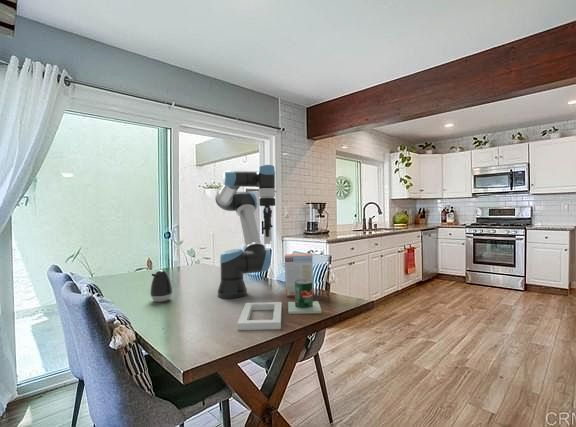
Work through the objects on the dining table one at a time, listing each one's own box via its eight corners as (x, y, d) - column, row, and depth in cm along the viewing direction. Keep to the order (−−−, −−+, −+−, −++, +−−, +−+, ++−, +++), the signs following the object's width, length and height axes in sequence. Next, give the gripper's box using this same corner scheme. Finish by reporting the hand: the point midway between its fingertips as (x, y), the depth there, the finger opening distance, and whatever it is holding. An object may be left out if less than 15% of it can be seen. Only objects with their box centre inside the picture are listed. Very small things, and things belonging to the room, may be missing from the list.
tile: (288, 313, 136) (288, 311, 136) (288, 304, 150) (288, 301, 150) (321, 313, 136) (321, 310, 136) (318, 303, 150) (318, 301, 150)
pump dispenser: (145, 302, 158) (144, 271, 158) (162, 297, 167) (161, 267, 167) (160, 304, 153) (159, 273, 153) (176, 299, 162) (176, 269, 162)
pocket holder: (237, 330, 118) (237, 323, 118) (245, 308, 144) (245, 302, 144) (280, 329, 119) (280, 322, 118) (281, 307, 145) (281, 302, 144)
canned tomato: (307, 309, 137) (306, 284, 137) (291, 307, 142) (291, 282, 141) (315, 304, 144) (315, 280, 144) (300, 302, 148) (300, 278, 148)
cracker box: (313, 293, 167) (312, 253, 167) (313, 296, 161) (312, 255, 161) (286, 293, 168) (285, 253, 168) (285, 296, 162) (284, 255, 162)
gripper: (274, 196, 140) (275, 245, 141) (275, 198, 165) (276, 239, 166) (257, 197, 140) (258, 245, 141) (261, 198, 165) (262, 239, 166)
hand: (268, 242), depth 153 cm, fingers open, 13 cm apart
